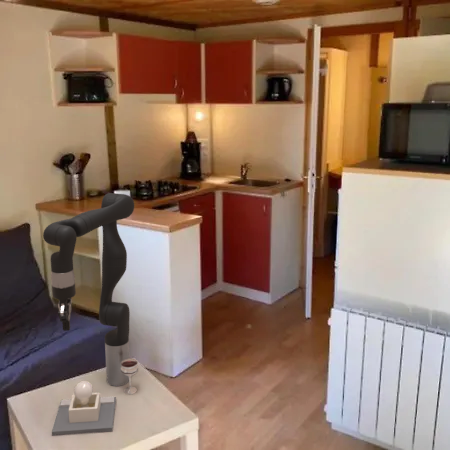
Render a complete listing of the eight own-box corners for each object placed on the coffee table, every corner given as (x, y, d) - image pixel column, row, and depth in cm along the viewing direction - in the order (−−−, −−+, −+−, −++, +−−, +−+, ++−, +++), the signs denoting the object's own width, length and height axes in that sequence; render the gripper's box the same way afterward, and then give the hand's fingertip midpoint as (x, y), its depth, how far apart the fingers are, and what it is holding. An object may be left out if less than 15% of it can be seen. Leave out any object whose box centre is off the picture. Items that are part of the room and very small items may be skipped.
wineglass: (141, 386, 203) (140, 358, 200) (136, 396, 196) (135, 368, 193) (124, 384, 204) (123, 357, 200) (119, 394, 197) (117, 366, 194)
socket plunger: (76, 408, 186) (76, 404, 186) (96, 406, 187) (96, 403, 187) (73, 420, 180) (73, 416, 179) (94, 418, 180) (94, 415, 180)
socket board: (61, 403, 191) (59, 388, 189) (116, 400, 194) (115, 385, 192) (51, 435, 174) (50, 419, 172) (112, 431, 176) (111, 414, 175)
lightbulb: (87, 402, 187) (85, 375, 184) (97, 409, 183) (95, 382, 180) (72, 410, 183) (69, 383, 180) (82, 417, 179) (80, 389, 176)
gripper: (55, 275, 178) (58, 321, 183) (47, 290, 166) (51, 339, 170) (77, 275, 179) (80, 320, 184) (71, 289, 167) (75, 338, 171)
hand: (66, 329), depth 177 cm, fingers closed
